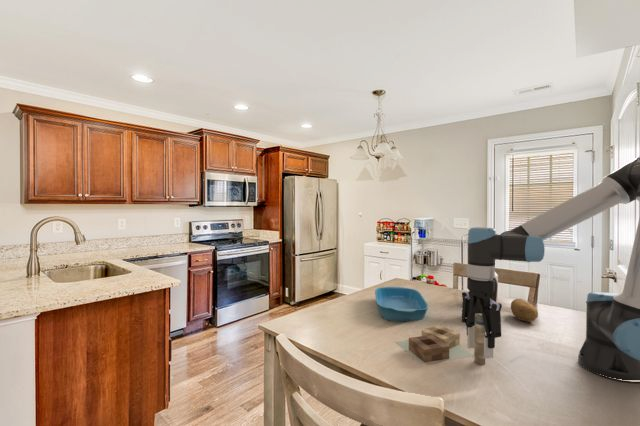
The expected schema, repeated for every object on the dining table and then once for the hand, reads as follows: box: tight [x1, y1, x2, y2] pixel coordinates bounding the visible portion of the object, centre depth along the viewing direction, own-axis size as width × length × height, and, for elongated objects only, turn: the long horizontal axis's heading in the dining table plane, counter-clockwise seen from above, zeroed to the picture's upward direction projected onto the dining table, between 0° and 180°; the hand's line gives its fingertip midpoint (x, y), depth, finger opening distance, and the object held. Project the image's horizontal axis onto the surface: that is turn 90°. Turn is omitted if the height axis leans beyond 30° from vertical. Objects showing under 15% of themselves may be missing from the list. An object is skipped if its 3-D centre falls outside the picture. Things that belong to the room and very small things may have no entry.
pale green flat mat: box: [395, 339, 474, 365], centre depth 106 cm, size 16×20×1 cm
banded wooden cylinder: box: [473, 313, 486, 366], centre depth 96 cm, size 3×3×16 cm
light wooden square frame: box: [421, 324, 461, 349], centre depth 110 cm, size 9×9×4 cm
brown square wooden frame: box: [408, 335, 449, 363], centre depth 102 cm, size 9×9×4 cm
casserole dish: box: [374, 286, 429, 322], centre depth 147 cm, size 37×22×7 cm, turn 173°
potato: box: [510, 298, 539, 323], centre depth 135 cm, size 10×14×8 cm
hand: (479, 352), depth 96 cm, fingers open, 6 cm apart
